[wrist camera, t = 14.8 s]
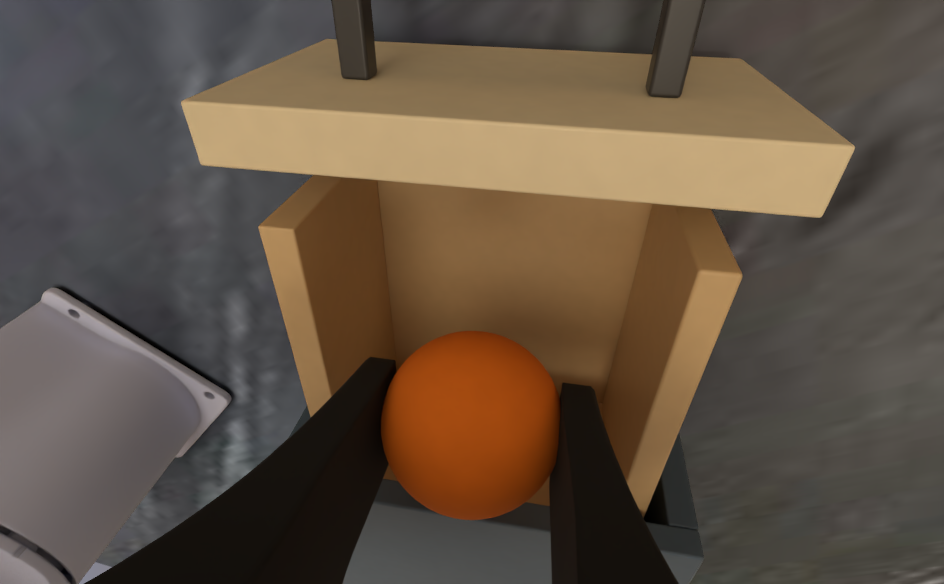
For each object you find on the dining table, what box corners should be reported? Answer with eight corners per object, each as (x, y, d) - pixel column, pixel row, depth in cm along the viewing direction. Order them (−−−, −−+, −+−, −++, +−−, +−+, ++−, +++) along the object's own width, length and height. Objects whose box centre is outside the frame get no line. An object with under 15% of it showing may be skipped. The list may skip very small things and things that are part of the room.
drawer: (288, -213, 11) (34, -340, 6) (830, -225, 9) (1128, -409, 4) (372, 364, 21) (309, 499, 16) (636, 399, 20) (656, 560, 15)
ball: (379, 352, 13) (316, 487, 10) (477, 264, 11) (437, 402, 8) (490, 431, 14) (466, 575, 11) (599, 366, 12) (608, 521, 9)
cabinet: (360, 309, 20) (261, 483, 14) (661, 346, 19) (705, 559, 12) (388, 494, 29) (334, 658, 22) (601, 530, 27) (609, 717, 21)
